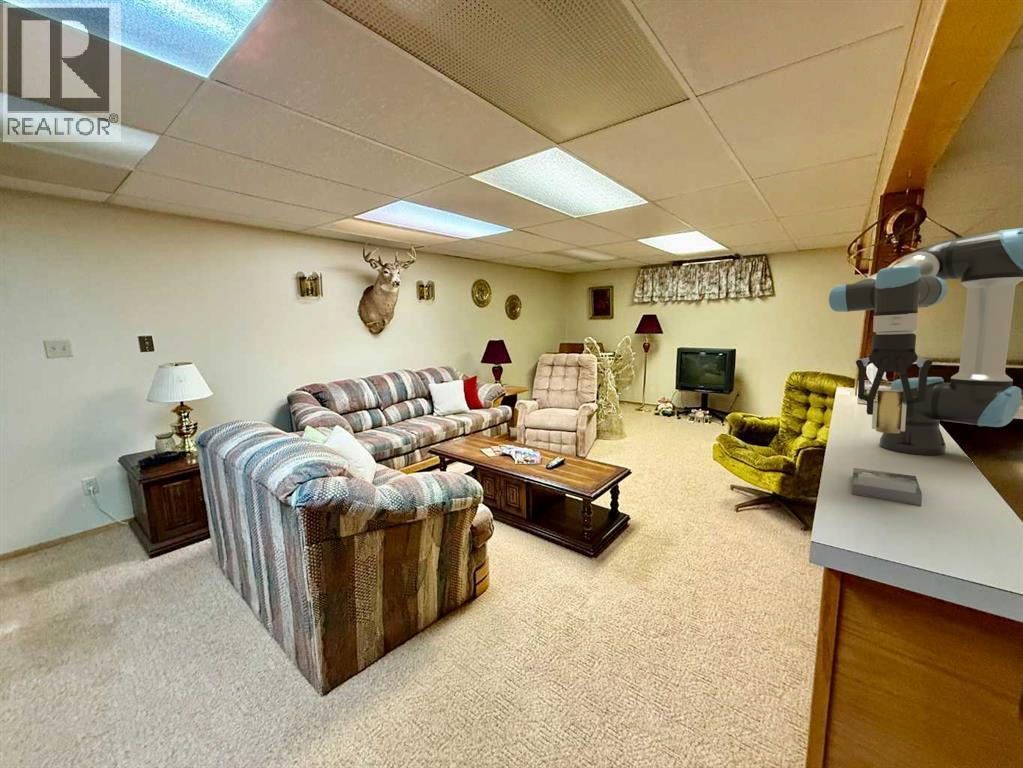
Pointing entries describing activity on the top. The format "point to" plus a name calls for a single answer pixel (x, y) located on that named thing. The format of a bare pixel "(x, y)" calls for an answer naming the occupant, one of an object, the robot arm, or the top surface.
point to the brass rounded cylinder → (889, 411)
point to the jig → (886, 486)
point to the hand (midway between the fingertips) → (887, 428)
